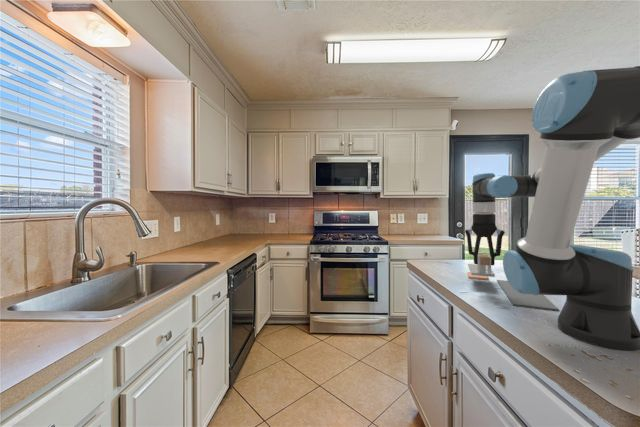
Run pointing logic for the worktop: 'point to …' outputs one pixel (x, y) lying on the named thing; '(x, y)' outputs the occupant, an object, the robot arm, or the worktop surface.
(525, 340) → the worktop surface
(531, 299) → the rubber mat
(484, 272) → the steel trowel
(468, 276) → the terracotta tile
